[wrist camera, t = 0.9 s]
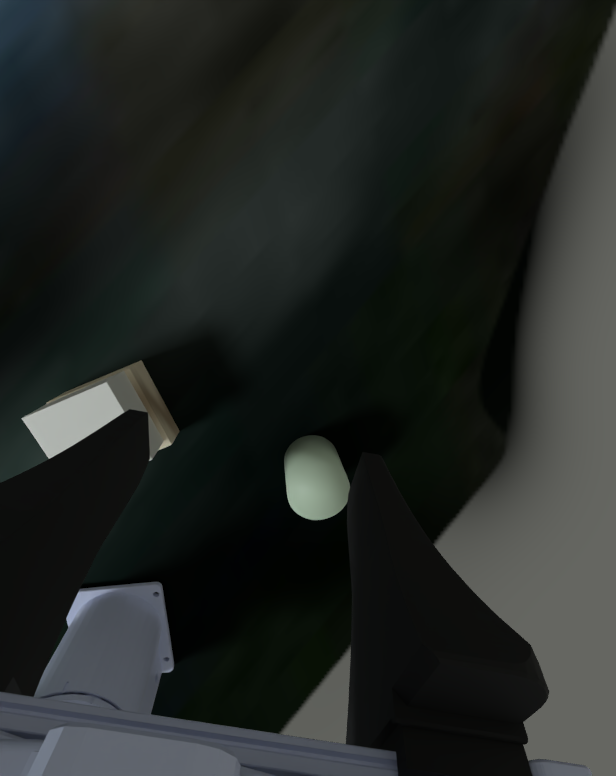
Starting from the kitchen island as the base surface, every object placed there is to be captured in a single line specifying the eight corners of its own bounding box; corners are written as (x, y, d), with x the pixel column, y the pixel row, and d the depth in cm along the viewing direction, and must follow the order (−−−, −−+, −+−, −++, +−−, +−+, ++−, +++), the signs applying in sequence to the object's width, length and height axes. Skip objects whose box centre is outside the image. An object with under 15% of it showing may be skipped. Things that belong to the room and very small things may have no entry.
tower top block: (164, 440, 28) (152, 459, 25) (92, 471, 28) (72, 493, 25) (124, 370, 26) (106, 382, 24) (48, 403, 27) (21, 418, 24)
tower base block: (180, 429, 31) (171, 444, 28) (109, 458, 31) (93, 477, 28) (142, 359, 29) (129, 368, 27) (67, 390, 29) (46, 402, 27)
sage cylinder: (338, 482, 33) (350, 517, 28) (285, 486, 33) (288, 522, 28) (337, 433, 32) (350, 460, 27) (282, 436, 32) (285, 465, 27)
